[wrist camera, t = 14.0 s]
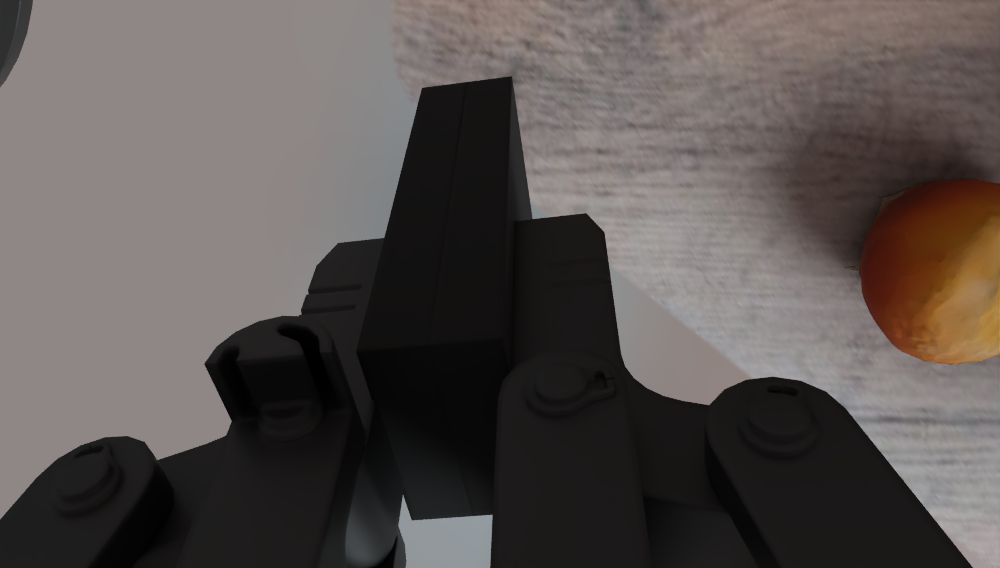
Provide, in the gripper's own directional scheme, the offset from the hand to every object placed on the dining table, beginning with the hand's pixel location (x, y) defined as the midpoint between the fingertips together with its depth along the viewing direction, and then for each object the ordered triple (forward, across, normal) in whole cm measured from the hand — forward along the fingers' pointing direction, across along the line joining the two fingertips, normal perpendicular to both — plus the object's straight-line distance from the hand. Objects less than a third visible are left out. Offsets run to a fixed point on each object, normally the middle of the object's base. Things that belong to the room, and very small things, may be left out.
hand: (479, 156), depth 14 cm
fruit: (+21, +18, -18) cm, 32 cm away
